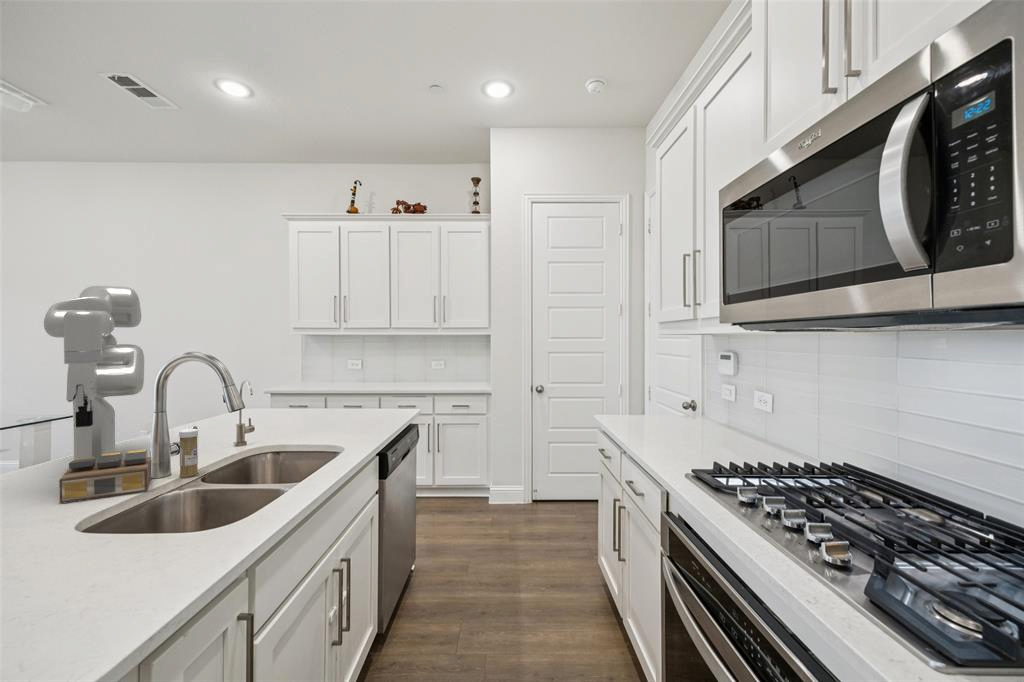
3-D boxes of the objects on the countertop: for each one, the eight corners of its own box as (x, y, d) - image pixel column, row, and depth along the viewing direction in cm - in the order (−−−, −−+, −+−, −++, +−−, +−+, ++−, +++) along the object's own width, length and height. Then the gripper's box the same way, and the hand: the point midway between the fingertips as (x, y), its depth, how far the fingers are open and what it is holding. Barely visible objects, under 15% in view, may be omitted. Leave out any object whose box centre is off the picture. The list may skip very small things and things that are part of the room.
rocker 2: (101, 461, 130) (101, 454, 129) (122, 459, 132) (121, 451, 132) (97, 470, 125) (97, 462, 124) (119, 468, 127) (118, 460, 127)
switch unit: (72, 488, 128) (72, 465, 128) (151, 477, 138) (151, 457, 138) (59, 504, 116) (58, 479, 116) (146, 491, 126) (146, 469, 125)
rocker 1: (74, 468, 127) (74, 459, 127) (95, 465, 129) (95, 457, 129) (68, 471, 122) (68, 462, 122) (91, 468, 124) (91, 460, 124)
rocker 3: (127, 458, 133) (126, 451, 132) (147, 456, 135) (146, 449, 135) (124, 467, 128) (124, 459, 127) (145, 465, 130) (144, 457, 130)
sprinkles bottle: (193, 477, 138) (192, 431, 138) (176, 478, 138) (175, 431, 137) (201, 472, 143) (201, 428, 142) (184, 473, 142) (184, 428, 142)
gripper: (70, 355, 131) (71, 422, 132) (57, 360, 118) (58, 433, 119) (106, 355, 135) (107, 419, 136) (96, 359, 123) (97, 430, 123)
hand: (84, 426), depth 127 cm, fingers closed
